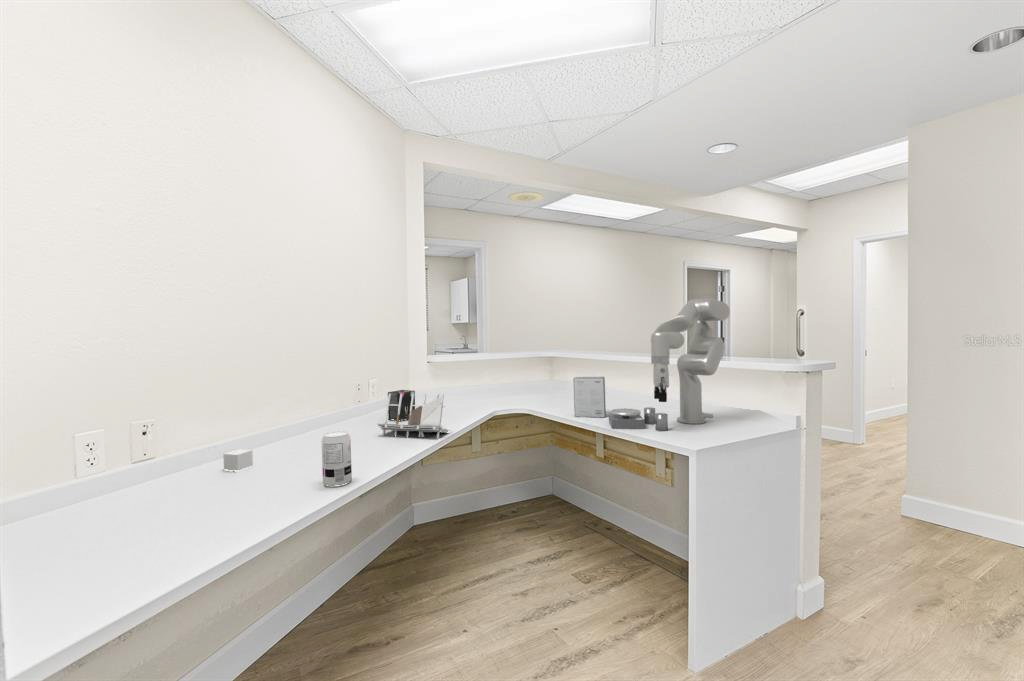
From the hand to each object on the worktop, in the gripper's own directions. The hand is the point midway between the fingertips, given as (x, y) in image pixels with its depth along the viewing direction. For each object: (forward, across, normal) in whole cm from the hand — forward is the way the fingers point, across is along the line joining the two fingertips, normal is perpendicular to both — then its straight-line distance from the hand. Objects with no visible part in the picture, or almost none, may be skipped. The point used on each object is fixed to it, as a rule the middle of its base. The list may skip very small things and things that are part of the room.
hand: (660, 400), depth 196 cm
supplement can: (+17, -72, +109) cm, 132 cm away
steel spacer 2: (+13, +1, -1) cm, 13 cm away
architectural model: (+16, -10, +107) cm, 108 cm away
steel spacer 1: (+13, +15, +2) cm, 20 cm away
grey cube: (+18, -60, +151) cm, 164 cm away
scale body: (+13, +10, +13) cm, 21 cm away
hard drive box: (+13, +33, +28) cm, 45 cm away
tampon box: (+15, +25, +125) cm, 129 cm away
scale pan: (+9, +10, +13) cm, 19 cm away
